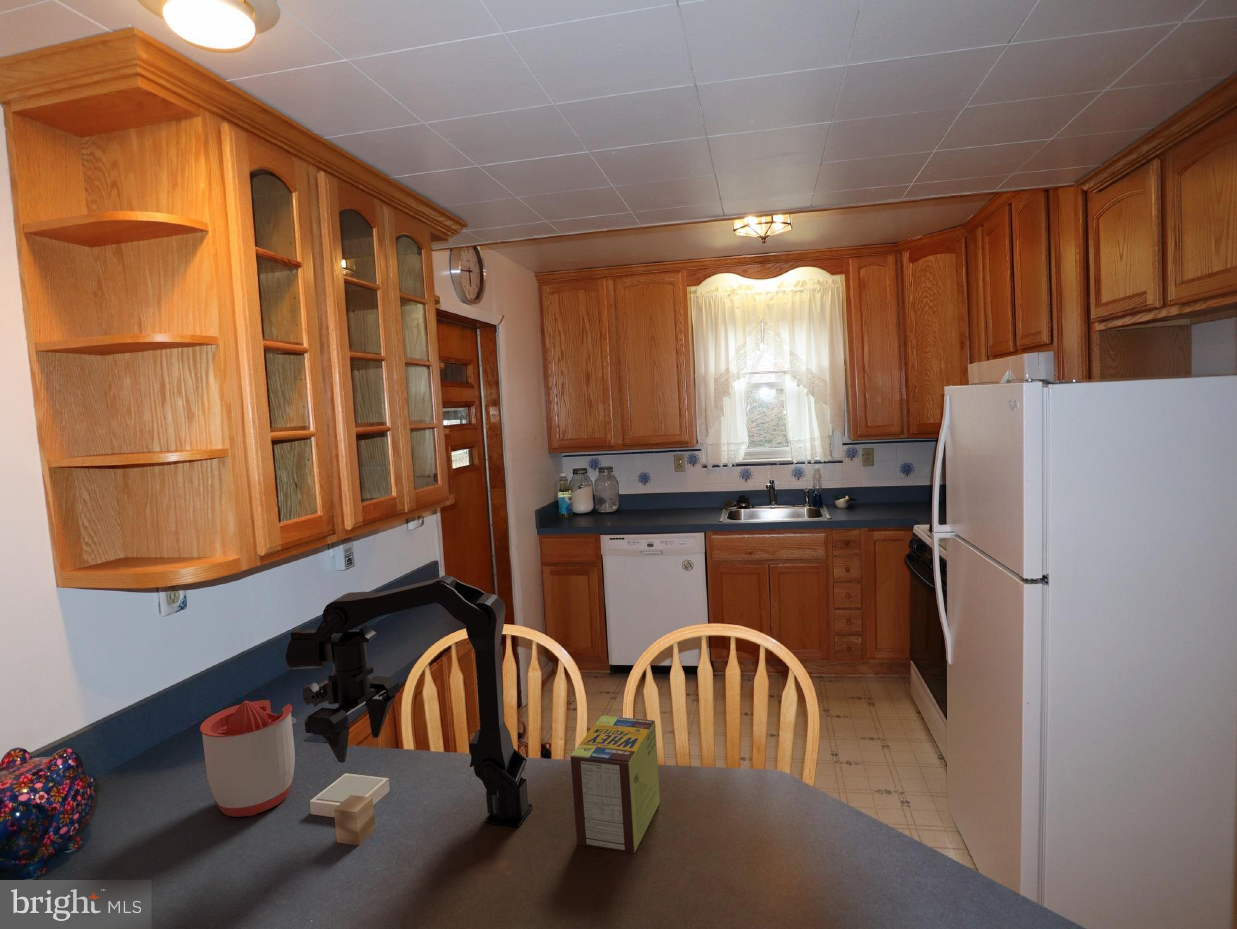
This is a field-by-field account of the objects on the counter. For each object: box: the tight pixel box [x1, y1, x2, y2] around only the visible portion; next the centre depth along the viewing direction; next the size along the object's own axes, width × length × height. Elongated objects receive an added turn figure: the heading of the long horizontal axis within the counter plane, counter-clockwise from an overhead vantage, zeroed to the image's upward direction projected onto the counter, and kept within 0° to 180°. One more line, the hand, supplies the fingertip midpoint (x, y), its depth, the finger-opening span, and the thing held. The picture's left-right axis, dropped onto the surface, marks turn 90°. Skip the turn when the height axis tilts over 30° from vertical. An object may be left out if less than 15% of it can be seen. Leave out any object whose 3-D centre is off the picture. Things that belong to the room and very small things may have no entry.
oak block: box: [334, 795, 377, 846], centre depth 123 cm, size 4×4×6 cm
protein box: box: [569, 715, 661, 854], centre depth 122 cm, size 10×15×16 cm
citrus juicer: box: [199, 699, 297, 818], centre depth 136 cm, size 16×17×20 cm
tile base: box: [309, 772, 391, 818], centre depth 134 cm, size 10×10×3 cm
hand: (359, 749), depth 128 cm, fingers open, 9 cm apart
